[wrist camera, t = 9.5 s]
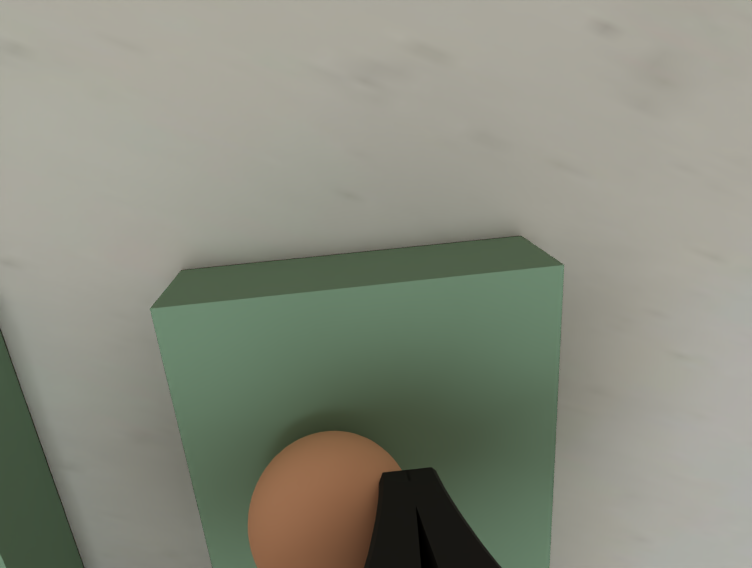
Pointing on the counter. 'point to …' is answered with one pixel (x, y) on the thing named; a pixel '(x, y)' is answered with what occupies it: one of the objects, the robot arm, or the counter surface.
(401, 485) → the robot arm
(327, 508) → the terracotta ball
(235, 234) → the counter surface
